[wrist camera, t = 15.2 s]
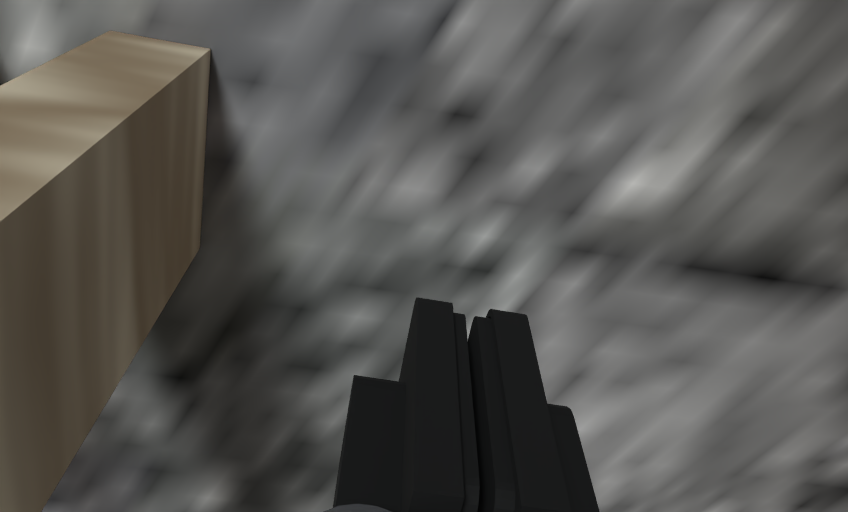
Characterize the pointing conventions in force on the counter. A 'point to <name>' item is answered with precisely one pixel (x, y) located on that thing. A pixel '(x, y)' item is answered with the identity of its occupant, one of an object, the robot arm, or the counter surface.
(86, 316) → the domino
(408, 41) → the counter surface
